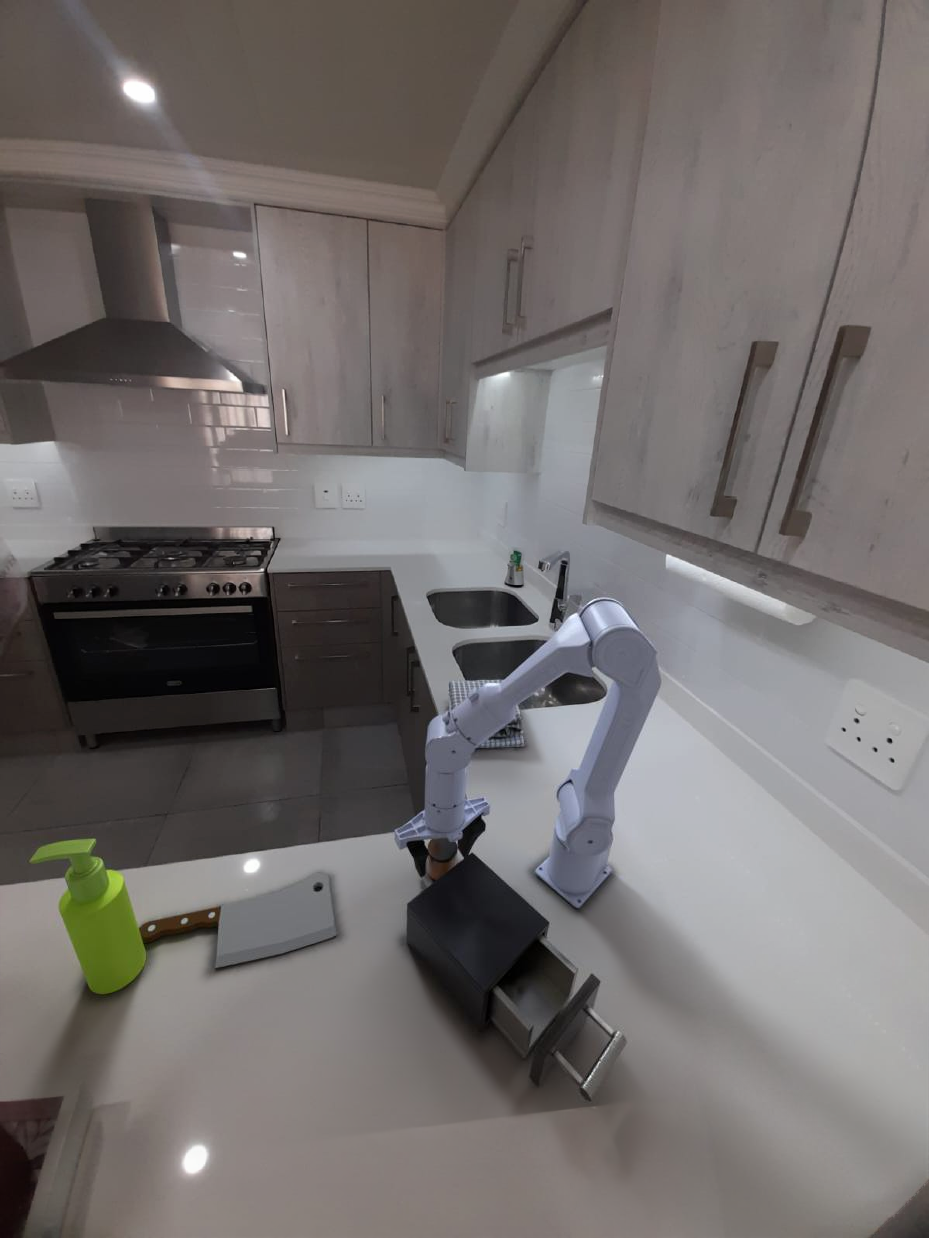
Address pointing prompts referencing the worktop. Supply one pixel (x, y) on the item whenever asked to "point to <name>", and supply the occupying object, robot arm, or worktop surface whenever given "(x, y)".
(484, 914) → the black drawer cabinet
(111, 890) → the soap dispenser
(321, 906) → the kitchen cleaver
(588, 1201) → the worktop surface
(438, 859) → the spice tin
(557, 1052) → the drawer
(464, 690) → the towel
